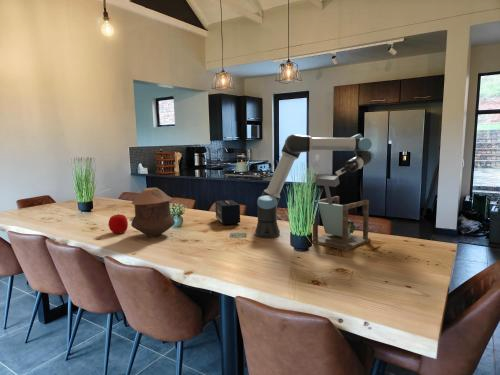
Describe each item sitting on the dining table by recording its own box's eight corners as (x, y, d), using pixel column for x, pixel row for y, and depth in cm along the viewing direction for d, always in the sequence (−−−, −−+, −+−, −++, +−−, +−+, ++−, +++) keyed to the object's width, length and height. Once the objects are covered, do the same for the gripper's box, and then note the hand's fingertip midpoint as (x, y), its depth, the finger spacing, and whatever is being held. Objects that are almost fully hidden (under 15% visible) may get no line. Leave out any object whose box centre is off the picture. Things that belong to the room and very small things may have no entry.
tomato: (124, 235, 215) (123, 215, 213) (106, 235, 215) (104, 216, 213) (131, 230, 227) (130, 211, 225) (114, 230, 227) (112, 212, 226)
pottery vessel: (180, 230, 224) (178, 185, 220) (167, 241, 199) (164, 190, 195) (142, 230, 227) (139, 185, 223) (125, 241, 202) (121, 191, 198)
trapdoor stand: (346, 251, 175) (346, 206, 172) (310, 242, 192) (310, 201, 189) (370, 241, 192) (371, 200, 189) (335, 233, 209) (335, 195, 206)
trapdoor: (335, 179, 170) (339, 176, 172) (309, 177, 181) (314, 174, 184) (348, 239, 183) (352, 235, 185) (323, 234, 194) (327, 230, 197)
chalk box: (325, 228, 201) (347, 234, 205) (331, 232, 193) (354, 238, 196) (329, 214, 201) (351, 220, 204) (336, 217, 192) (359, 223, 195)
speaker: (215, 219, 253) (215, 199, 251) (232, 218, 257) (232, 198, 255) (222, 226, 232) (221, 204, 230) (240, 224, 236) (239, 203, 234)
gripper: (370, 162, 196) (346, 176, 187) (345, 176, 218) (322, 190, 209) (363, 151, 197) (339, 164, 188) (338, 166, 219) (315, 179, 210)
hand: (330, 178), depth 198 cm, fingers open, 13 cm apart
